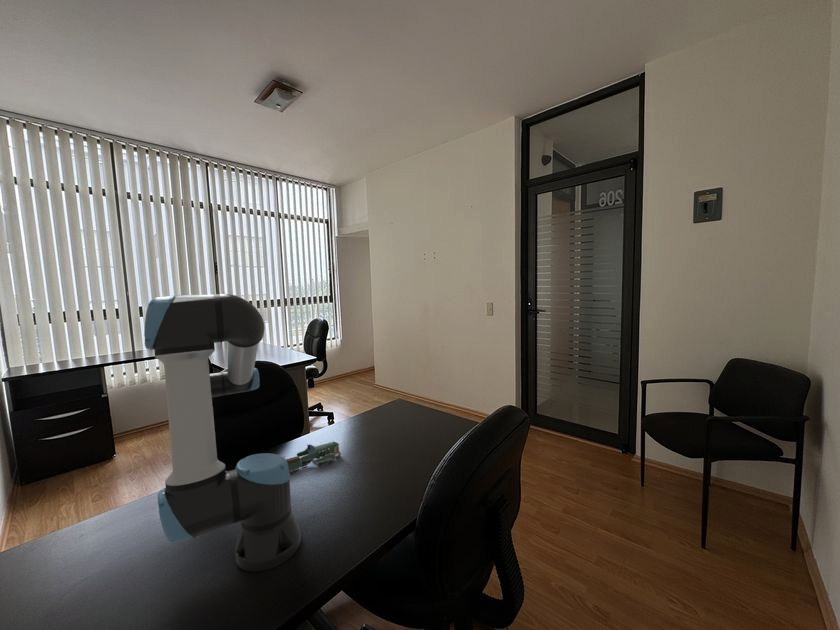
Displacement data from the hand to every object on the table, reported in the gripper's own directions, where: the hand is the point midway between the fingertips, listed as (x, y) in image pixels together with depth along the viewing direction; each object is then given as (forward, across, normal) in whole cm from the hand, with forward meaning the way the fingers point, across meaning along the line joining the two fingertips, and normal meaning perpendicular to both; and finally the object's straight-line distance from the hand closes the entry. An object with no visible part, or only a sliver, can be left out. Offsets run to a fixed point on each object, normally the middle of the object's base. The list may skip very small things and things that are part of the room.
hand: (203, 474), depth 122 cm
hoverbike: (+2, +1, -35) cm, 35 cm away
